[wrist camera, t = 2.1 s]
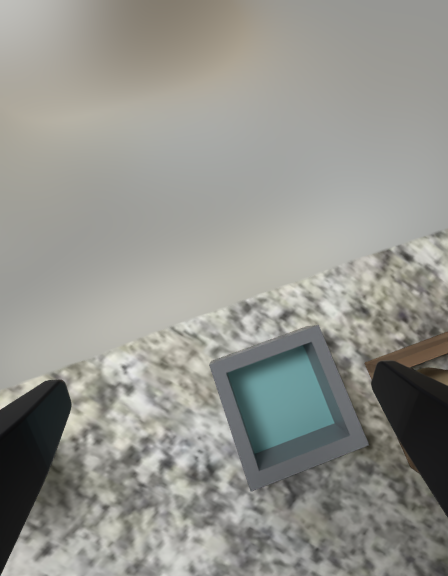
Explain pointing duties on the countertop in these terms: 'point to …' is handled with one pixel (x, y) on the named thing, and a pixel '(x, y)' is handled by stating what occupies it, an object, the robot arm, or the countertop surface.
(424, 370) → the wood plug
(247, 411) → the grey square tray
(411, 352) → the wooden square frame
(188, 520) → the countertop surface
